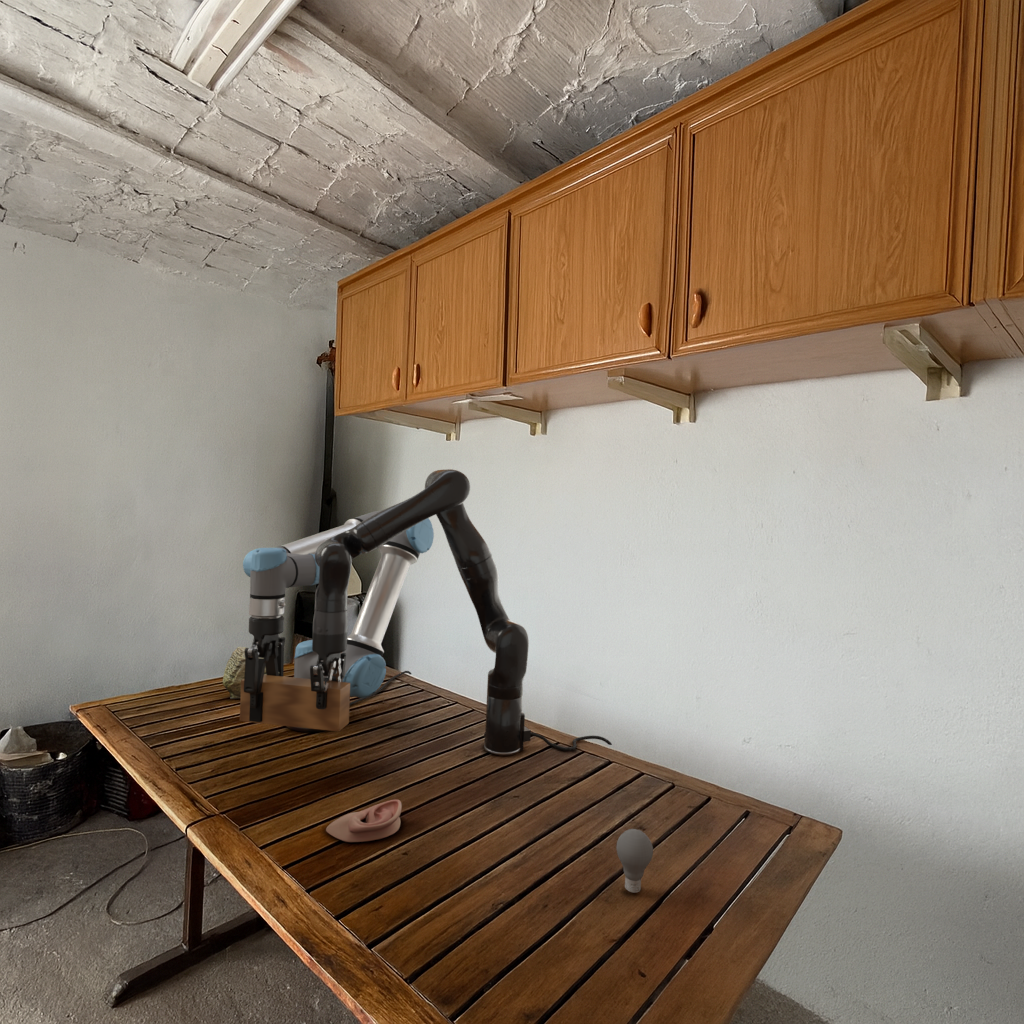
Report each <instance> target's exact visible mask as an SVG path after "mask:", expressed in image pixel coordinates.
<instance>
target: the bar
mask: <svg viewBox="0 0 1024 1024" xmlns="http://www.w3.org/2000/svg"><path fill="white" fill-rule="evenodd" d="M283 676H284V675H283ZM283 676H272V675H264V677H263V683H262V688H261V692H263V713H262V722H253V721H249V714H250V693H246V692H244V679H243V680H241V698H239V699H240V704H239V722H245V723H254V724H264V725H272V726H273V725H274V726H283V727H287V726H291V727H301V728H310V729H320V730H325V731H329V732H340V731H341V730H343V729H344V728H345V727H346V726H347V725H348V724H349V723H350V706H351V705H350V703H351V697H350V683H347V682H336V681H331V682H329V685H328V690H327V707H326V708H325V709H317V708H316V693H317V692H314V691H311V679H304V678H294V676H293V677H292V676H284V677H283ZM324 684H325V681H324ZM315 685H316V682H315ZM349 705H350V706H349Z"/></svg>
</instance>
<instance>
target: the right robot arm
mask: <svg viewBox="0 0 1024 1024" xmlns="http://www.w3.org/2000/svg"><path fill="white" fill-rule="evenodd" d="M470 492H471V483H470V480H469V478H468V476H467V475H466V474H464V473H463V472H462V471H459V470H458V469H453V468H452V469H450V468H448V469H437V470H433V471H432V472H430V474H429V475H428V476H427V478H426V479H425V483H424V488H423V490H421V491H420V492H417V493H416V494H415V495H413V496H411V497H409V498H407V499H405V500H403V501H401V502H398V503H395V504H394V505H392V506H389V507H387V508H385V509H381V510H382V511H380V510H379V511H380V512H378V513H376V514H374V515H373V516H371V517H369V518H368V519H366V520H364V521H362V522H361V523H359V524H358V525H356V526H355V527H353V528H351V529H349V530H347V531H345V532H342V533H340V534H338V535H336V536H334V537H332V538H330V539H328V540H326V541H325V542H323V543H322V544H320V545H319V546H318V548H317V549H316V552H315V561H316V563H317V565H318V566H319V567H320V571H319V584H317V587H316V589H315V595H314V614H313V621H312V639H311V640H312V650H313V651H314V652H316V653H317V654H318V660H317V665H311V667H310V679H311V691H314V692H317V693H316V708H317V709H325V708H326V707H327V690H328V685H329V682H331V681H336V682H341V679H343V678H344V672H345V663H346V653H342V652H344V651H345V650H346V649H347V636H348V626H349V617H348V598H349V597H348V589H349V583H350V580H351V579H350V578H351V573H352V565H353V563H352V562H353V561H352V560H354V559H356V558H357V557H359V556H361V555H363V554H368V553H371V552H373V551H375V550H377V549H379V548H378V547H380V546H382V545H383V544H385V543H387V542H388V541H390V540H391V539H393V538H395V537H396V536H398V535H399V534H401V533H403V532H404V531H406V530H408V529H409V528H411V527H413V526H414V525H416V524H418V523H420V522H422V521H423V520H425V519H427V518H429V519H430V518H431V517H433V516H436V517H437V520H438V521H439V523H440V525H441V527H442V530H443V532H444V534H445V538H446V541H447V544H448V546H449V549H450V552H451V554H452V557H453V559H454V562H455V565H456V567H457V571H458V572H459V576H460V578H461V580H462V582H463V584H464V586H465V588H466V591H467V593H468V596H469V598H470V601H471V603H472V604H473V607H474V609H475V612H476V615H477V618H478V621H479V625H480V629H481V632H482V636H483V639H484V642H485V644H486V646H487V648H488V649H489V650H490V651H491V652H492V653H494V654H495V660H494V667H493V668H491V669H490V670H488V672H487V682H486V683H487V684H486V707H485V708H486V710H485V730H484V733H483V738H484V744H483V749H484V751H485V752H487V753H488V754H491V755H494V756H500V757H501V756H513V755H516V754H519V753H520V752H522V751H524V747H525V745H524V744H525V743H527V742H531V738H532V737H536V738H538V739H541V740H542V741H543V742H545V744H547V745H548V746H550V747H552V748H554V749H556V750H559V751H564V752H572V751H575V750H576V749H577V747H578V746H577V742H580V741H585V740H599V741H602V742H604V743H606V744H607V745H608V746H613V743H612V742H611V741H610V740H609V739H608V738H605V737H603V736H600V735H583V736H579V737H576V738H573V740H572V746H571V747H565V746H561V745H557V744H555V743H553V742H551V741H550V740H549V739H548V738H546V737H545V736H544V735H542V734H539V733H536V732H532V731H531V729H530V728H528V727H527V726H525V725H526V724H525V723H526V722H525V721H526V715H525V712H523V697H524V696H523V693H524V678H525V676H526V674H527V671H528V662H529V651H530V650H529V649H530V638H529V633H528V631H527V629H526V628H525V627H524V626H523V625H521V624H519V623H518V622H515V621H512V620H511V619H510V617H509V615H508V614H507V612H506V610H505V608H504V605H503V603H502V599H501V596H500V579H499V578H500V577H499V570H498V567H497V564H496V562H495V560H494V556H493V554H492V551H491V550H490V547H489V545H488V544H487V542H486V541H485V539H484V537H483V536H482V535H481V533H480V532H479V530H478V529H477V528H476V526H475V525H474V524H473V522H472V521H471V519H470V517H469V515H468V513H467V510H466V507H465V505H464V503H465V501H467V499H468V498H469V495H470ZM323 676H328V677H327V678H324V677H323ZM324 681H325V684H324ZM315 682H316V685H315ZM531 736H532V737H531Z"/></svg>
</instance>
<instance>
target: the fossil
mask: <svg viewBox="0 0 1024 1024" xmlns="http://www.w3.org/2000/svg"><path fill="white" fill-rule="evenodd" d="M245 648H248V647H247V646H246V647H245V646H238V647H237V648H236V649H235V650H233V651H232V653H231V656H230V657H229V659H228V660H227V663H226V666H225V668H224V671H223V675H222V676H223V677H222V685H223V687H224V688H225V690H226V691H228V693H229V698H230V699H241V680H243V679H244V676H245V653H244V651H245ZM258 658H259V657H258ZM261 659H263V658H261ZM264 675H267V674H266V666H265V671H264ZM283 677H285V676H284V675H283Z"/></svg>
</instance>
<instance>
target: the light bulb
mask: <svg viewBox="0 0 1024 1024" xmlns="http://www.w3.org/2000/svg"><path fill="white" fill-rule="evenodd" d="M615 849H616V854H617V857H618V859H619V861H620V863H621V865H622V867H623V873H624V874H623V875H624V876H625V878H624V888H625V890H627V891H628V892H630V893H634V894H635V893H639V892H640V891H641V889H642V887H641V886H642V879H643V877H644V875H645V871H646V868H647V867H648V866H649V864H650V863H651V861H652V859H653V855H654V847H653V843H652V841H651V838H649V836H648V835H647V834H646V833H645V832H643V831H642V830H641V829H636V828H629V829H627V830H625V831H623V832H622V833H621V834H620V835H619V837H618V839H617V841H616V847H615Z"/></svg>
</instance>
